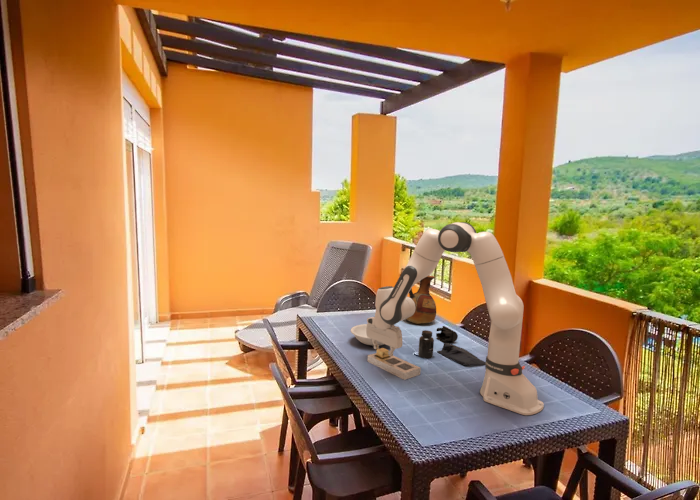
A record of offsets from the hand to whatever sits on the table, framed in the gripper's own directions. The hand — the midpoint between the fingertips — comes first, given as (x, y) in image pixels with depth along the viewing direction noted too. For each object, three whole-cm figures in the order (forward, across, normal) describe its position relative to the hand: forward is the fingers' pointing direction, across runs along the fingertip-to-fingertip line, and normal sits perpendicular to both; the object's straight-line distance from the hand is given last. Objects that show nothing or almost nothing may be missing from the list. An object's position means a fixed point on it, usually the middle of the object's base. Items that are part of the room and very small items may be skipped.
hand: (383, 352), depth 183 cm
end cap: (+5, +4, -50) cm, 50 cm away
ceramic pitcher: (+5, +36, -64) cm, 73 cm away
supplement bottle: (+5, -5, -23) cm, 24 cm away
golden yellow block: (+5, 0, 0) cm, 5 cm away
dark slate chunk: (+6, -16, -36) cm, 40 cm away
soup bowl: (+5, +22, -14) cm, 26 cm away
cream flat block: (+5, -7, 0) cm, 8 cm away
